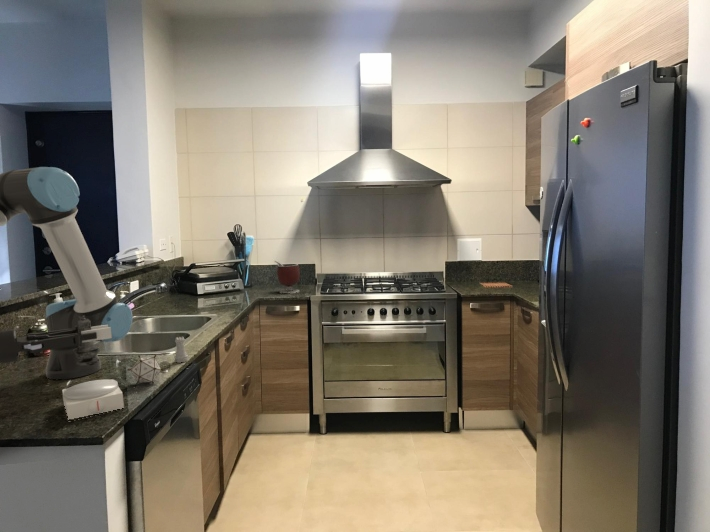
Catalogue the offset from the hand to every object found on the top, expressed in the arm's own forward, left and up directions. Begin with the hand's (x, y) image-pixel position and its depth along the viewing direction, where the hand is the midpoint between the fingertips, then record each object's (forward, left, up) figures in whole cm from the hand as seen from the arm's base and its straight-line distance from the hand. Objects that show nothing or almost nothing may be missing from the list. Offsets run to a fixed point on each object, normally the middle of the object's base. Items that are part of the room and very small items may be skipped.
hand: (109, 331), depth 125 cm
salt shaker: (0, -6, -7) cm, 9 cm away
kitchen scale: (0, -5, -19) cm, 19 cm away
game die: (-10, +10, -19) cm, 23 cm away
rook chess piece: (-26, +24, -19) cm, 40 cm away
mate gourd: (-137, +120, -19) cm, 183 cm away
